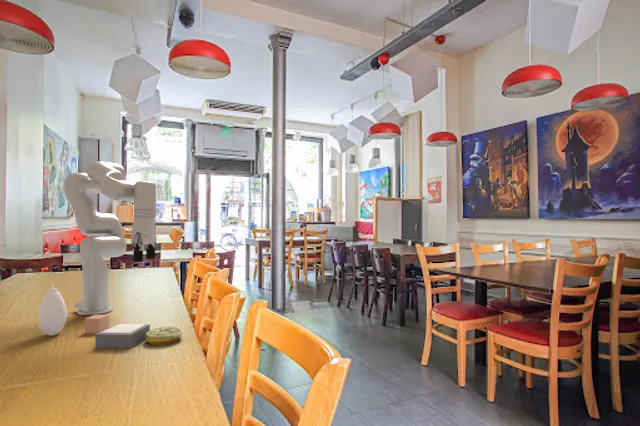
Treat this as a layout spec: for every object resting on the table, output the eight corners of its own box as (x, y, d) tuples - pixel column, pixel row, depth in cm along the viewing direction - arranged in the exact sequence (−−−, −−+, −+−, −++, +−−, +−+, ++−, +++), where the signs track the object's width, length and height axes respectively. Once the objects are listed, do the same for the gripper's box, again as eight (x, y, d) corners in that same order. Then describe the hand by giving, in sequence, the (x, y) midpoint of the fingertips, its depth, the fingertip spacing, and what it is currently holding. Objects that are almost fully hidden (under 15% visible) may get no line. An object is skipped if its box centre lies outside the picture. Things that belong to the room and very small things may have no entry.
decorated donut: (188, 340, 119) (188, 329, 119) (154, 349, 111) (154, 336, 111) (172, 334, 126) (173, 322, 126) (140, 341, 118) (140, 329, 118)
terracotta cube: (85, 333, 126) (85, 318, 126) (94, 329, 131) (94, 314, 131) (99, 333, 126) (99, 318, 126) (108, 329, 131) (108, 314, 131)
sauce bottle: (63, 330, 130) (64, 278, 130) (68, 334, 124) (69, 280, 125) (35, 334, 124) (36, 280, 125) (39, 340, 119) (40, 283, 119)
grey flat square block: (95, 347, 112) (95, 333, 112) (117, 336, 123) (117, 323, 123) (131, 348, 111) (131, 333, 111) (149, 336, 122) (149, 323, 122)
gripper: (145, 214, 148) (145, 258, 148) (122, 214, 131) (122, 263, 130) (164, 214, 148) (164, 258, 148) (144, 214, 131) (143, 263, 130)
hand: (144, 260), depth 139 cm, fingers open, 9 cm apart
